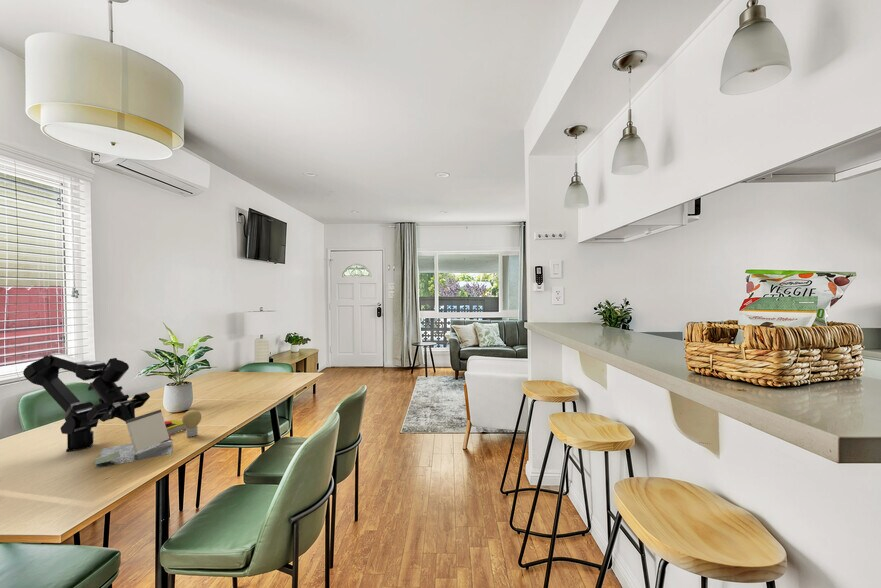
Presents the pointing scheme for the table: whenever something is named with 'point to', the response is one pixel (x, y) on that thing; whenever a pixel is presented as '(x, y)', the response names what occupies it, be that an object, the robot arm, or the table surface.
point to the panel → (129, 454)
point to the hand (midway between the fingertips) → (133, 424)
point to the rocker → (107, 457)
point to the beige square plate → (147, 430)
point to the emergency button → (174, 426)
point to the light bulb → (191, 422)
